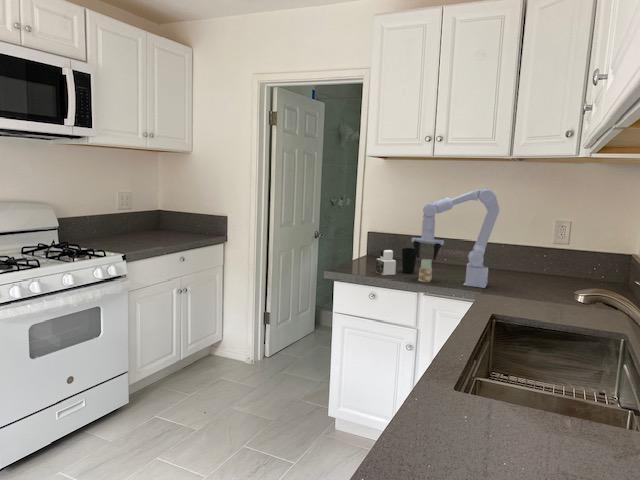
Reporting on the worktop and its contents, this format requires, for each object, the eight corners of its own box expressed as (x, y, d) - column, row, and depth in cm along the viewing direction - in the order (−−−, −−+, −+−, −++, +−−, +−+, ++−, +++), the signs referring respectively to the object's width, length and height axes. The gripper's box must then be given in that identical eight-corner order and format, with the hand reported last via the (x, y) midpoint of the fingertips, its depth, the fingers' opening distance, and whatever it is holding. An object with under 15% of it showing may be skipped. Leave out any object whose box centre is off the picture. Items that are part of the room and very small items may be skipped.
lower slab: (431, 280, 225) (431, 274, 224) (429, 282, 220) (429, 276, 220) (420, 279, 227) (421, 273, 226) (418, 281, 222) (418, 274, 222)
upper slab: (431, 274, 224) (432, 268, 224) (429, 276, 220) (430, 269, 219) (421, 273, 226) (421, 266, 226) (418, 274, 222) (419, 268, 221)
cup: (409, 274, 235) (410, 250, 233) (397, 272, 241) (398, 248, 239) (419, 273, 240) (420, 249, 238) (407, 270, 245) (408, 247, 244)
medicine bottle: (375, 272, 238) (376, 248, 236) (387, 271, 240) (389, 248, 239) (382, 275, 231) (384, 251, 229) (395, 274, 234) (397, 250, 232)
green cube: (431, 268, 224) (431, 259, 223) (429, 269, 220) (430, 261, 220) (422, 267, 225) (423, 258, 225) (420, 268, 222) (421, 260, 221)
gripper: (445, 230, 221) (443, 259, 223) (415, 227, 227) (413, 255, 229) (442, 231, 214) (440, 261, 216) (411, 229, 220) (409, 257, 222)
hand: (426, 258), depth 222 cm, fingers open, 7 cm apart
